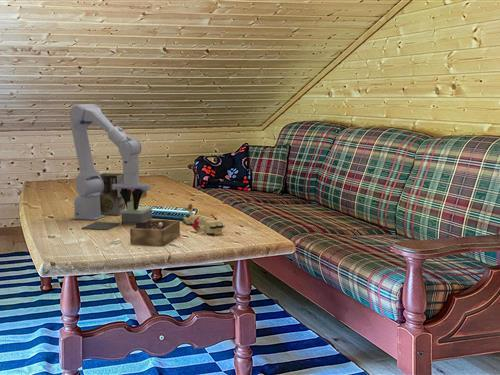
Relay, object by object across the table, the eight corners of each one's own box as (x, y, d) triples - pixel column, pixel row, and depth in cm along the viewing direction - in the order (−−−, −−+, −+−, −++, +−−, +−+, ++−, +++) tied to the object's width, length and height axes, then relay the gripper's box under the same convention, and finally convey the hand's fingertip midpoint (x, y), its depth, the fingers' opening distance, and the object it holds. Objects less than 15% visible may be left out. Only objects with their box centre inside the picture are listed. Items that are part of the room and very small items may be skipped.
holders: (121, 248, 193) (120, 233, 192) (99, 196, 290) (98, 186, 290) (188, 243, 199) (188, 228, 198) (144, 194, 297) (144, 183, 296)
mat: (81, 229, 221) (81, 227, 221) (95, 222, 231) (95, 221, 231) (107, 230, 219) (107, 229, 218) (120, 223, 229) (120, 222, 229)
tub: (121, 223, 230) (121, 212, 229) (132, 218, 240) (132, 208, 239) (141, 224, 228) (141, 213, 228) (151, 218, 238) (151, 208, 237)
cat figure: (177, 228, 228) (205, 236, 207) (176, 205, 228) (204, 210, 206) (201, 225, 233) (232, 232, 211) (200, 202, 232) (230, 207, 211)
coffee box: (126, 212, 251) (124, 173, 249) (118, 215, 245) (117, 175, 242) (105, 211, 253) (104, 172, 251) (98, 214, 247) (96, 174, 245)
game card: (135, 222, 200) (163, 221, 202) (136, 224, 205) (163, 223, 207) (135, 242, 199) (164, 241, 200) (136, 244, 204) (163, 243, 205)
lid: (119, 214, 229) (119, 201, 228) (132, 209, 240) (131, 196, 239) (141, 215, 227) (140, 202, 226) (152, 210, 238) (152, 197, 237)
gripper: (108, 173, 225) (109, 210, 227) (145, 174, 222) (146, 211, 224) (116, 171, 232) (117, 206, 234) (152, 172, 229) (153, 208, 231)
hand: (132, 209), depth 229 cm, fingers closed on lid, 2 cm apart
